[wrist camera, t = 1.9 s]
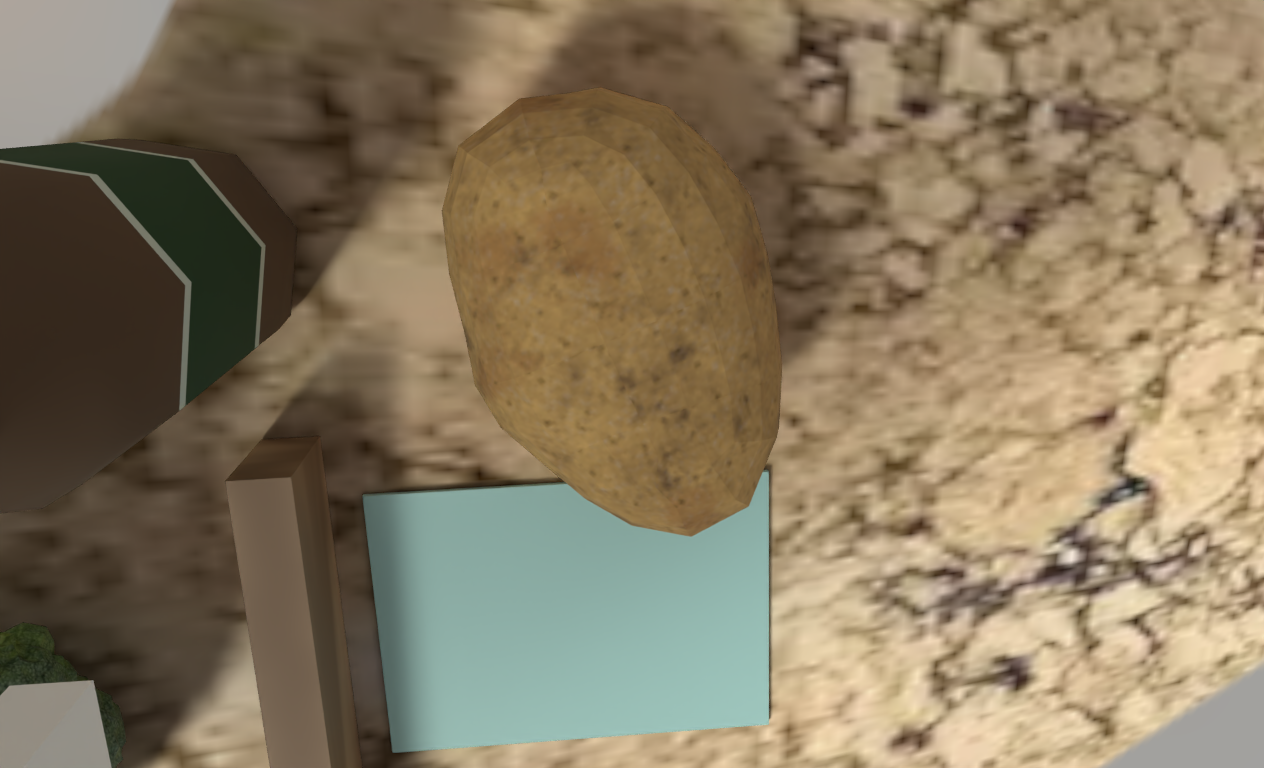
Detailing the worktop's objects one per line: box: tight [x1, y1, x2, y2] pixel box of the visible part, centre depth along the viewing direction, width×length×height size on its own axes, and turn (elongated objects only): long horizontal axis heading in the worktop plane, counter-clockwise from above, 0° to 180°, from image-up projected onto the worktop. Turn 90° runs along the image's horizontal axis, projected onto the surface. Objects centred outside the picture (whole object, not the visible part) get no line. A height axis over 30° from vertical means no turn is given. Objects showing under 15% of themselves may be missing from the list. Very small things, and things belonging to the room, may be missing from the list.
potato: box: [442, 87, 782, 537], centre depth 31 cm, size 10×14×8 cm
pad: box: [362, 470, 769, 753], centre depth 38 cm, size 14×10×1 cm
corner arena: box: [225, 436, 362, 768], centre depth 36 cm, size 16×20×4 cm
